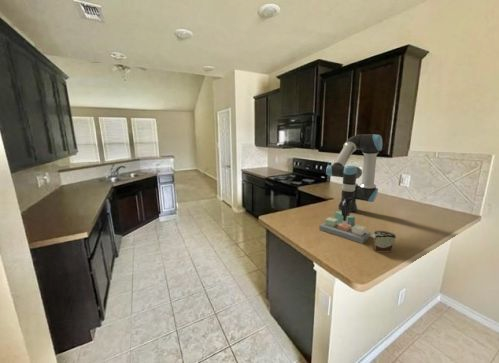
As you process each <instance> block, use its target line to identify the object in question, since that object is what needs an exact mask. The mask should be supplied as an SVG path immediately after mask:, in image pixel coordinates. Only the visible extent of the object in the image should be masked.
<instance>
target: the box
mask: <svg viewBox="0 0 499 363" xmlns="http://www.w3.org/2000/svg"><path fill="white" fill-rule="evenodd" d="M349 215H350V216H348V222H347V224H348V225H351V227H353V226H355V222H356V221H355V220H356V217H355V216H353V215H352V214H351V213H350V214H349ZM333 218H335V219H338V223H342V221H343V215H342V210H339V211H338V210H337V211H334V217H333Z"/></svg>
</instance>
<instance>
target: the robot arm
mask: <svg viewBox="0 0 499 363" xmlns="http://www.w3.org/2000/svg"><path fill="white" fill-rule="evenodd" d="M382 149H383V138H382V136H381V135H380V134H374V133H373V134H370V133H369V134H368V133H367V134H355V135H353V136H351V137H349V138H348V139H347V140H346V141H345V142H344V144H343V146H342V149H341V150H340V152H339V153H338V156H337V158H336V159H335V161H334V162H333V164H331V165H330V164H329V165H327V167H325V168H326V169H325V174H326V175H327V176H329V177H335V178H342V184H341V186H342V187H341V199H340V201H339V204H338V207H337V208H338V210H339V211H342V215H343V221H342V225H345V226H347V222H348V216H350V215H351V213H356V212H358V205H357V200H358V201H362V202H363V201H364V202H367V203H368V202H370V203H373V202H375V200H376V198H377V196H378V193H379V192H378V191H379V189H378V187H377V185H376V184H375V175H376V168H377V167H376V166H377V155H378V154H379V153H380V152H381V151H382ZM356 150H360V151H361V153H362V154H363V163H362V164H363V165H362V169H361V168H360V167H358V166H356V165H347V163H348V161H349V159H350V158H351V156H352V154H353V153H354V152H356ZM361 176H362V178H361V179H362V180H361V183H360V184H359V185H358V183H357V179H359V178H360V177H361ZM376 187H377V188H376ZM349 214H350V215H349Z"/></svg>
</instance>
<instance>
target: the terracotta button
mask: <svg viewBox="0 0 499 363" xmlns="http://www.w3.org/2000/svg"><path fill="white" fill-rule="evenodd" d="M338 229H340V230H343V231H346V232H348V231H349V230H351V225H348V224H347V226H345V225H342V223H341V224H339V225H338Z"/></svg>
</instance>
